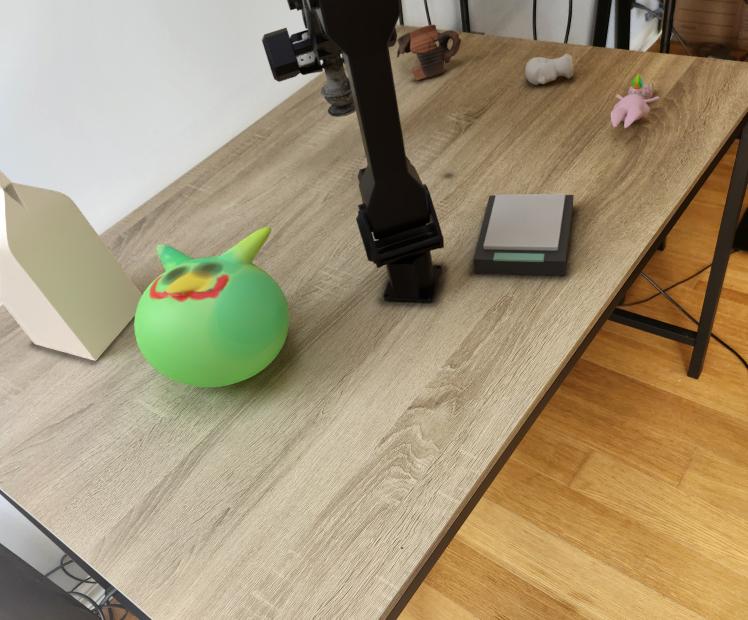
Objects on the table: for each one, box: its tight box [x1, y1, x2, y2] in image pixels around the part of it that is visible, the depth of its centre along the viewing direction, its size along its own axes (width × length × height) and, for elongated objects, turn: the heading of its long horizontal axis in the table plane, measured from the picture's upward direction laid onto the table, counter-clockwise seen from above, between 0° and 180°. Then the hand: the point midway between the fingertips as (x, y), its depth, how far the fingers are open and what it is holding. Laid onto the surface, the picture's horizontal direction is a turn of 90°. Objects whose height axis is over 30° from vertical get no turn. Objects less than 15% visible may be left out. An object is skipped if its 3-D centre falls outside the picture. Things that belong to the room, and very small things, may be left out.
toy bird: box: [133, 226, 290, 388], centre depth 76 cm, size 18×17×15 cm
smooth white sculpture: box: [524, 53, 574, 86], centre depth 107 cm, size 4×8×5 cm
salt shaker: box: [320, 54, 356, 118], centre depth 101 cm, size 6×6×12 cm
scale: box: [473, 193, 575, 277], centre depth 83 cm, size 13×11×3 cm
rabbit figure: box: [610, 73, 660, 129], centre depth 95 cm, size 6×6×15 cm
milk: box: [0, 169, 143, 362], centre depth 82 cm, size 12×12×26 cm
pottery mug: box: [396, 24, 462, 82], centre depth 118 cm, size 12×10×8 cm
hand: (332, 64), depth 101 cm, fingers closed on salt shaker, 3 cm apart
